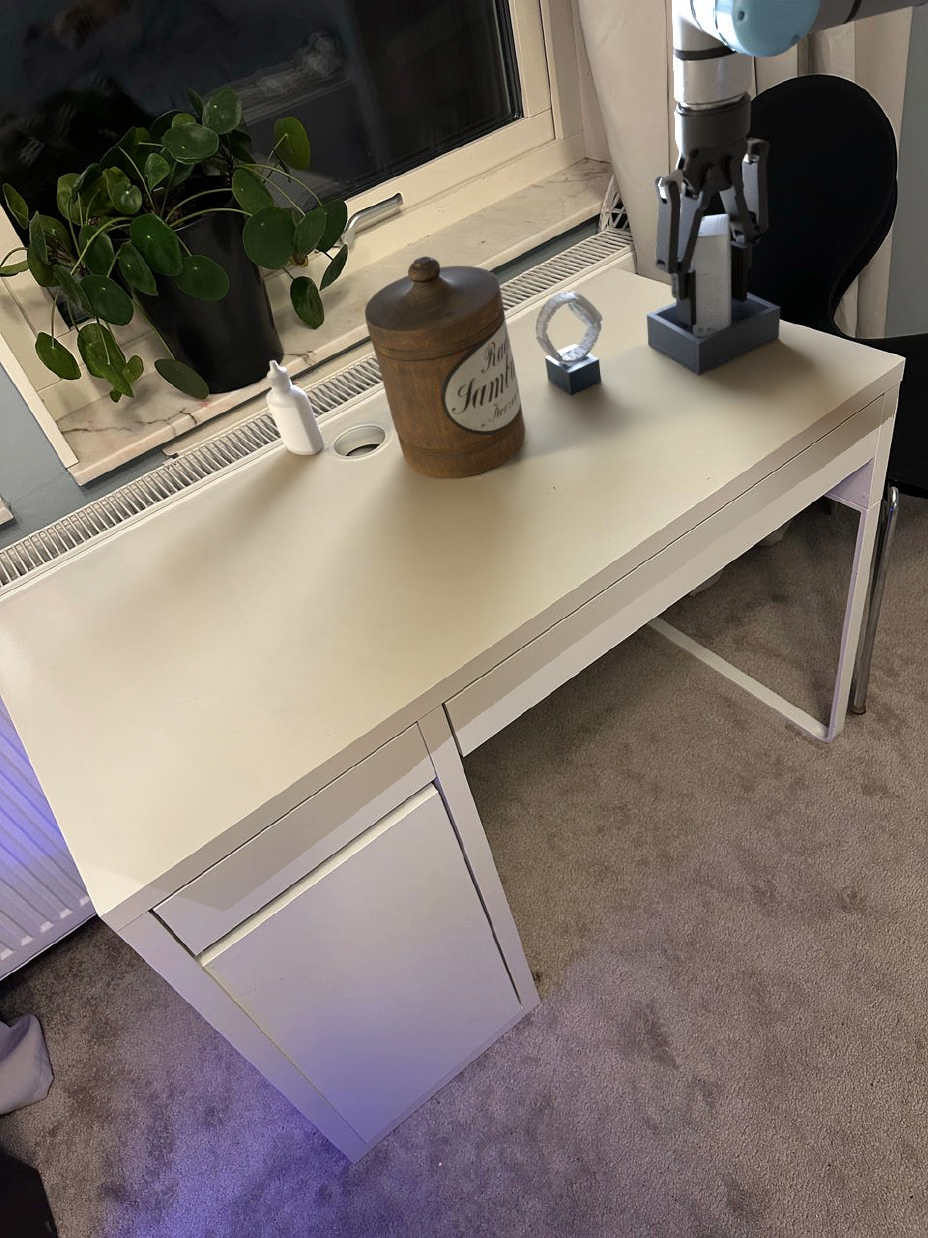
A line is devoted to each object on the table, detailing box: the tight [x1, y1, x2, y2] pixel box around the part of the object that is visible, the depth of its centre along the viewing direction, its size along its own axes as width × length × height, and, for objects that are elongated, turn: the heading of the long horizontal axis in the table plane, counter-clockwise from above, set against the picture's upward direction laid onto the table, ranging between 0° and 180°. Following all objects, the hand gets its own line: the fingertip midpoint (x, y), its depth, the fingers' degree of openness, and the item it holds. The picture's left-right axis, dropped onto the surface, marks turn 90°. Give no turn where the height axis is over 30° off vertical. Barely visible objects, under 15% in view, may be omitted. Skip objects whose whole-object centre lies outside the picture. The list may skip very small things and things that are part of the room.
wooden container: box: [364, 256, 526, 479], centre depth 93 cm, size 15×15×22 cm
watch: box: [535, 290, 603, 396], centre depth 102 cm, size 6×8×11 cm
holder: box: [646, 291, 781, 376], centre depth 104 cm, size 11×12×4 cm
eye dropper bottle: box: [265, 359, 326, 456], centre depth 103 cm, size 4×6×12 cm
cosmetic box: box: [690, 213, 732, 337], centre depth 99 cm, size 6×4×12 cm
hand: (711, 309), depth 102 cm, fingers closed on cosmetic box, 7 cm apart
